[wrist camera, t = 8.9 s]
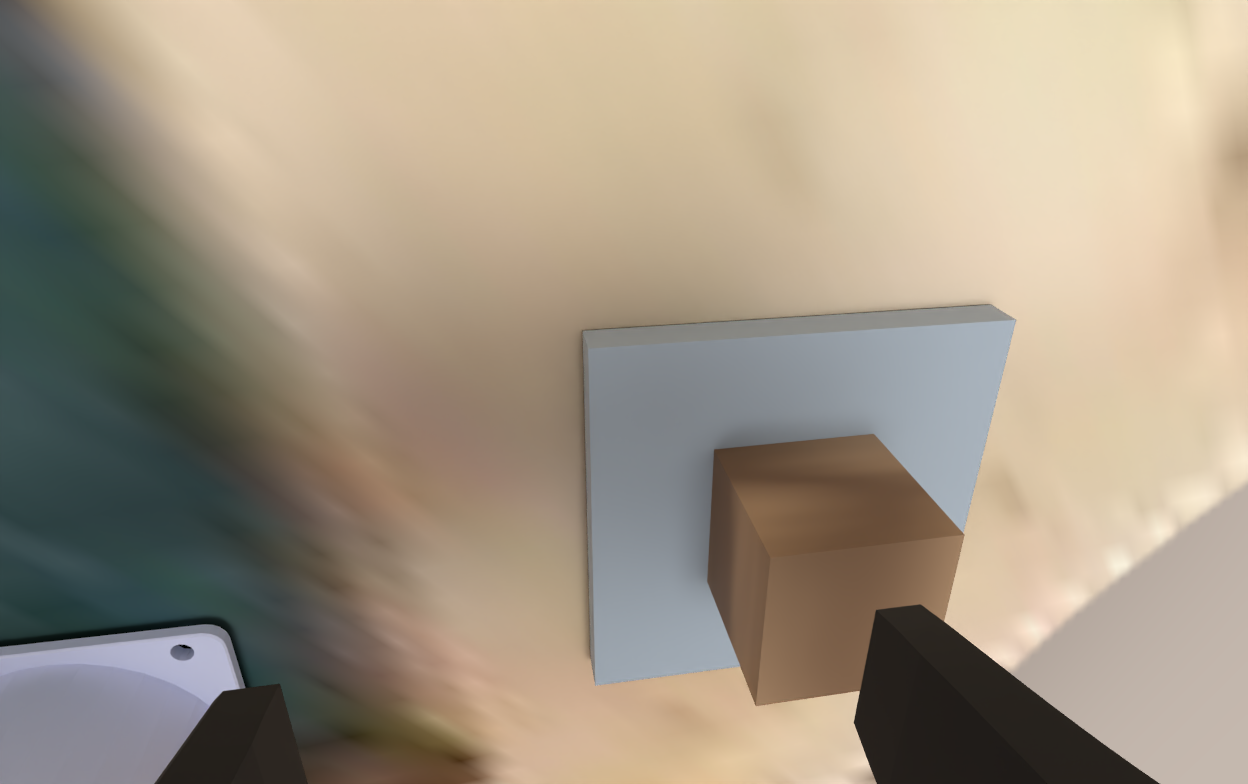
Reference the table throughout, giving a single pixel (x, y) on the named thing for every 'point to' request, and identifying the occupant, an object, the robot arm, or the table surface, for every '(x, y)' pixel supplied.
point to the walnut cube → (820, 558)
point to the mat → (756, 415)
